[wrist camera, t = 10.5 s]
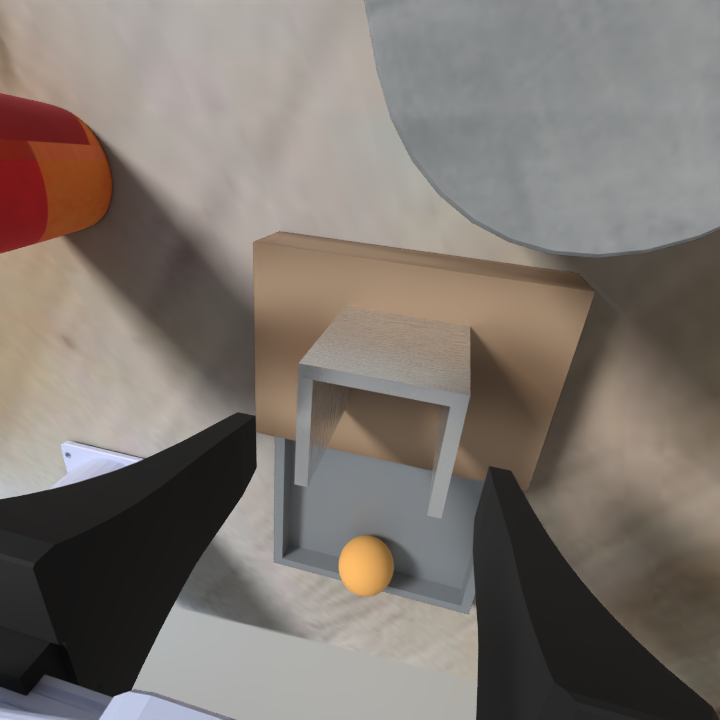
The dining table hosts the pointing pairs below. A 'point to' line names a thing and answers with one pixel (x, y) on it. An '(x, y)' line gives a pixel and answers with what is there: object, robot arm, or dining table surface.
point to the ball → (366, 565)
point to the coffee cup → (48, 173)
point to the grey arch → (384, 383)
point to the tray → (377, 523)
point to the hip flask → (560, 115)
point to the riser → (428, 301)
